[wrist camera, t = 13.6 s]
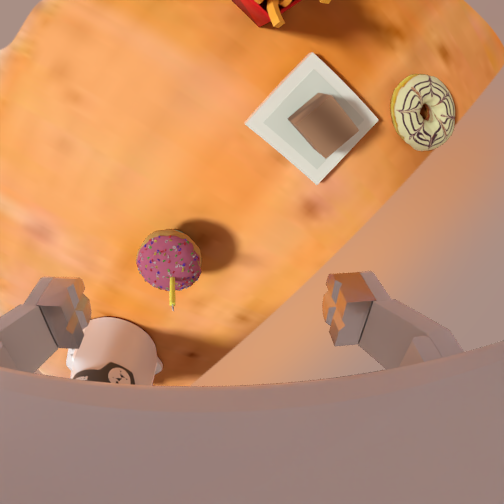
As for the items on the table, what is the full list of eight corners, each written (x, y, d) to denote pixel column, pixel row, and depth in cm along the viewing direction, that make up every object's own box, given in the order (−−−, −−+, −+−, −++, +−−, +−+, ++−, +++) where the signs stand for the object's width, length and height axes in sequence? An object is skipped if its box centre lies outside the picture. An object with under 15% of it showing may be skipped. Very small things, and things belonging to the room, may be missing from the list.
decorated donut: (414, 160, 41) (428, 168, 38) (370, 106, 37) (383, 110, 33) (455, 115, 37) (470, 120, 34) (415, 59, 33) (431, 60, 30)
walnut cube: (313, 148, 37) (325, 158, 33) (287, 118, 35) (296, 124, 31) (343, 123, 36) (359, 130, 32) (318, 92, 34) (331, 95, 29)
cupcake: (215, 249, 45) (215, 304, 35) (171, 279, 47) (160, 337, 37) (175, 204, 41) (161, 251, 31) (131, 239, 43) (108, 292, 33)
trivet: (313, 181, 41) (317, 185, 40) (243, 122, 36) (244, 124, 35) (373, 118, 37) (379, 120, 36) (309, 53, 32) (312, 52, 31)
